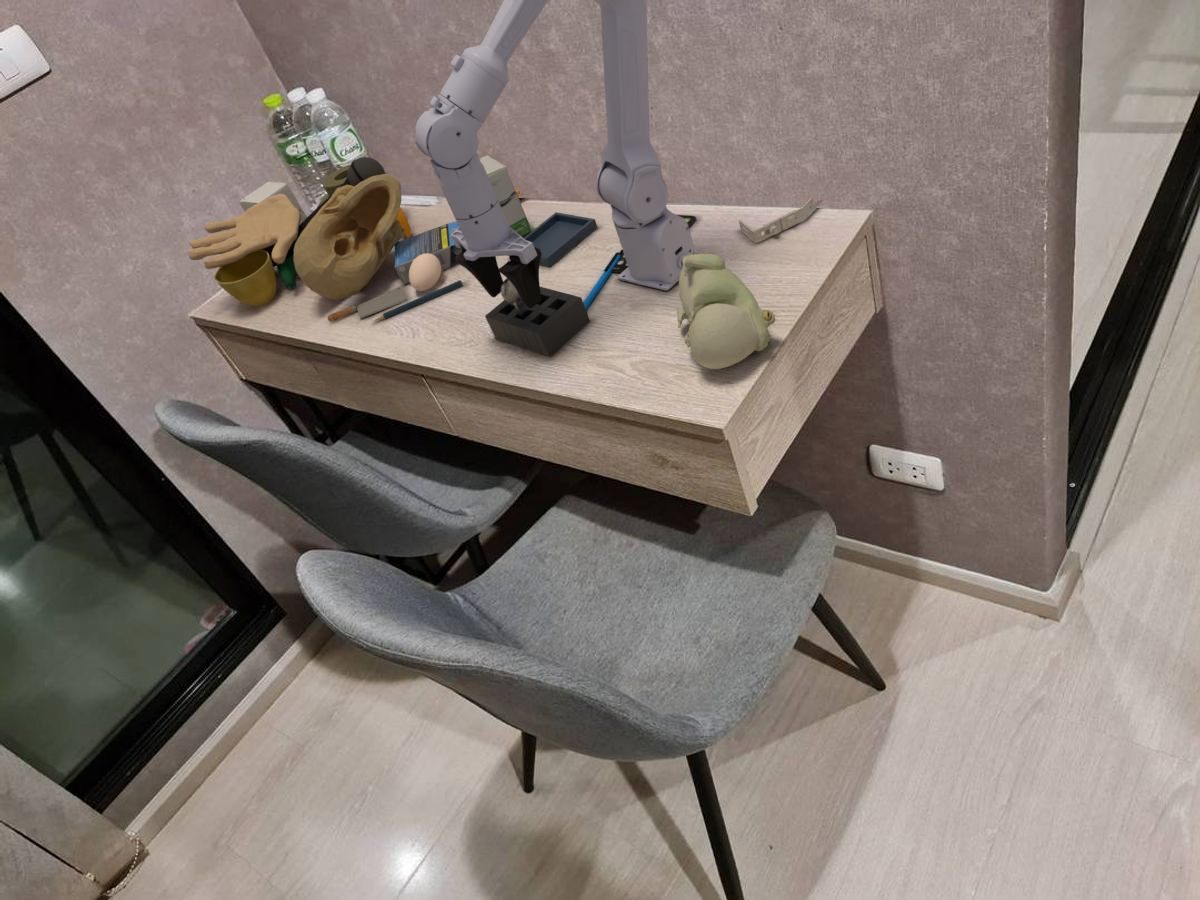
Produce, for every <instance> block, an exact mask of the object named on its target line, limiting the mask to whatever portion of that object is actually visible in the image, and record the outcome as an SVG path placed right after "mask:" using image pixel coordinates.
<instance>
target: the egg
mask: <svg viewBox="0 0 1200 900" xmlns="http://www.w3.org/2000/svg"><path fill="white" fill-rule="evenodd" d="M441 275H442V271H441V265H440V261H439V260H438V258H437V257H436V256H434V255H432V254H429V253H426V254H422V255H419V256H418V257H416V258H415V259H414V261H413V262H412V264H411V266H410V270H409V280H410V283H409V284H410V285H411V287H412V288H413V289H414V290H416V291H419V292H424V291H425V292H426V291H428V290H429V289H432V288H433V287H434V286H435V285H436V284H437V282H438V281H439V280H440V278H441Z"/></svg>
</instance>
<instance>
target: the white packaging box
mask: <svg viewBox="0 0 1200 900" xmlns="http://www.w3.org/2000/svg"><path fill="white" fill-rule="evenodd" d="M277 194H285V195H286V196H287V197H288V198H289V200H290V201H291V203H292V204H293V205H294V206H295V208H296V209H298V210H299V211H300V214H301V221H300V224H301V223H302V222H303V221H304V220H305V219H306V218H307V217H308V216H307V215H306V212H305V211H304V210H303V208H302V206H301V205H300V203H299V200H298V199H297V198H296V196H295V194H294V193H293V190H292V189H291V187H290V186H289V184H288V183H287V182H278V181H277V182H276V181H267V182H265V183H264V184H262V185H261V186H260V187H258V188H256V189H255V190H253V191H252V192H251V193H250V194H248V195H246V196H245V197H243V198H242V199H240V200H239V201H238V204H239V205H240V207H241V208H242V209H243V211H244V212H245V211H246V210H247V209H248V208H250V207H252V206H254V205H256V204H258V203H260V202H262V201H263V200H265V199H266V198H268V197H270V196H273V195H277ZM300 224H299V225H300Z"/></svg>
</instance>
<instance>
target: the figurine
mask: <svg viewBox="0 0 1200 900" xmlns="http://www.w3.org/2000/svg"><path fill="white" fill-rule="evenodd" d="M682 262H683V268H682V271H681V274H680V277H679V281H678V293H679V294H678V295H679V299H680V303H681V305H682V306H680V307H679V308H678V309H677V311H676V314H677V322H678V324H677V328H678V329H680V328H681V327H682V325H683V321H684V320H685V319H686V320H688V322H689V323H690V324H689V329H688V331H687V333H686V335H685V336H684V344H685V346H687V348H690V352H691V354H692V357H693V359H694V360H695V362H696V363H697V364H698V365H700V366H701V367H703V368H706V369H712V370H719V369H720V370H721V369H726V368H728V367H732V366H734V365H735V364H738V363H739V362H741V361H743V360H745V359H746V358H747V357H749V356H750V355H751V354H753V352H754V351H756V352H761V351H763V350H764V349H766V348H767V347H768V345H769V342H770V341H771V340H772V339H773V338H772V336H771V335H770V333H769V330H768V328H769V327H770V326H772V325H773V324H775V322H776V315H775V314H774V312H773V311H772V310H770V309H766V308H760V306H759V303H758V302H757V299H756V298H755V296H754V294H753V292H751V290H750V289H749V288H748V287H747V285H746V283H744V281H742V280H741V279H740V277H739V276H737V274H736V273H734V272H733V271H732V270H730V269H729V268H727V267H726V263H725V261H724V259H723V258H722V257H721V256H719V255H716V254H713V253H696V254H694V255H687V256H685V257H684V258H683V259H682Z"/></svg>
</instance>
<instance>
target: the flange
mask: <svg viewBox="0 0 1200 900" xmlns="http://www.w3.org/2000/svg"><path fill="white" fill-rule="evenodd" d="M350 165H351V164H348V165H345V166H343V167H340V168H339V169H337V170H335V171H333V172H332V173H331V174H329V175H328V176H326V177H325V178H324V179H323V181H322V187H323V189H324V190H325V192H326V195H325V196H324V197H323V198H322V199H321V200H320V201H319V202H320V203H319V202H318V203H319V204H318V206H317V208H318V207H319V206H320V205H321V204H322V203H323V202H324V201H325V200H326V199H327V198H328V197H329V196H330V195H331V194H332V193H333V192H335V191H336V189H337V188H339V187H340V186H341V185H342V184H343V183H344V182H345V180H346V178H347V177H348V169H349V167H350ZM385 174H389V172H385Z"/></svg>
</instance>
